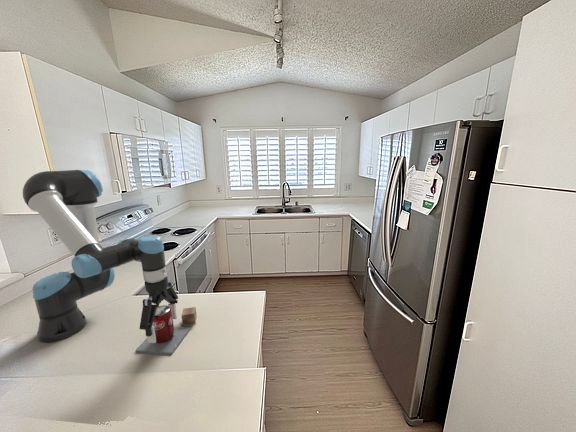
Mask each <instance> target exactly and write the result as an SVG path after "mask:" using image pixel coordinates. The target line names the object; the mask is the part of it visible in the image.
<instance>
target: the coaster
mask: <svg viewBox="0 0 576 432" xmlns="http://www.w3.org/2000/svg"><path fill="white" fill-rule="evenodd" d="M191 328H192V327H189V326H188V327H187V326H174V332H175V335H174V337H173V338H172V339H171V340H170V341H169V342H166V343H163V344H158V343H148V340H147V337H146V338H145V339H144V340H143V341H142V342H141V344H139V346H138V347H136V349H135V350H134V351H135V353H143V354H144V353H145V354H155V355H156V354H159V355H168V356H169V355H173V354H174V352H175V351H176V350H177V348H178V347H179V346H180V344H181V343H182V342H183V340H184V339H185V338H186V336H187V335H188V334H189V332H190V331H191Z"/></svg>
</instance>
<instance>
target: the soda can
mask: <svg viewBox="0 0 576 432" xmlns="http://www.w3.org/2000/svg"><path fill="white" fill-rule="evenodd" d="M152 325H154V329H155V336H156V343H158V344H163V343H166V342H169V341H170V340H171V339H172V338H173V337H174V335H175V332H174V319H173V317H172V310H171V307H169V306H168V304H166V305H165V304H162V305H159V307H157V310H156V313H155V317H154V320H153V324H152Z"/></svg>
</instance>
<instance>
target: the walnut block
mask: <svg viewBox="0 0 576 432" xmlns="http://www.w3.org/2000/svg"><path fill="white" fill-rule="evenodd" d="M196 308H197V307H196V306H194V307H193V306H192V307H186V308H183V309H182V312H181V322H182V327H186V326H189V325H190V326H191V325H196V322H197V309H196Z"/></svg>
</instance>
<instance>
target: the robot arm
mask: <svg viewBox="0 0 576 432" xmlns="http://www.w3.org/2000/svg"><path fill="white" fill-rule="evenodd" d="M102 195H103V185H102V182H101V180H100V178H99V177H98V176H97V175H96V174H95V172H93V171H92V170H89V169H69V170H67V169H66V170H46V171H40V172H37V173H35V174H33V175H31V176H30V177H29V178H28V179H27V180H26V182H25V183H24V185H23V188H22V198H23V201H24V203H25V204H26V205H27V207H28V208H29V209H30V210H31V211H32V212H35V213H38V215H40V217H41V218H42V219H43V220H44V222H45V223H46V224H47V225H48V226H49V228H50V229H51V230H52V231H53V233H54V234H55V235H56V236H57V238H58V239H60V241H61V242H62V244H64V246H65V247H66V248H67V249H68V251H69V252H70V253H71V254H72V256H74V257H73V258H72V259H71V268H72V270H73V272H71V273H70V272H69V271H60V272H55V273H52V274H49V275H46V276H45V277H42V278H41V279H39V280H37V281H36V282H35V283H34V284H33V285H32V290H31V291H32V298H33V299H34V303H35V306H36V310H37V313H38V318H39V322H38V323H39V324H38V330H37V334H36V336H37V340H38V341H39V342H41V343H52V342H53V343H54V342H57V341H60V340H63V339H64V340H65V339H67V338H69V337H71V336H74V335H76V334H78V333H79V331H81V330H82V329H84V328H85V327H86V325H87V318H86V316H85V314H84V313H83V312H82V311H81V310H80V308H79V307H78V303H77V302H78V301H79V300H81V299H83V298H86V297H88V296H91V295H93V294H95V293H97V292H101V291H103V290H104V289H106V288H109V287H111V286H112V284H113V283H114V282H115V277H116V275H115V274H116V273H115V269H114V268H117V267H121V266H122V265H123V266H124V265H126V264H128V263H130V262H139V263H141V268H142V269H141V270H142V277H143V281H144V282H143V283H144V287H145V291H146V292H147V294H148V298H145V299H144V298H143V299H142V311H141V314H140V315H141V317H140V322H139V323H140V324H139V330H144V331H145V336H146V338H147V340H148V343H156V336H155V329H154V325H152V324H153V320H154V317H155V313H156V310H157V307H159V306H160V304H161V303H162V301H164V300H165V301H166V302H167V306H169V307H171V310H172V317H173V320H177V318H178V316H177V308H176V304H178V303H179V302H178V299H179V296H178V294H177V292H176V291H175V289H174V288H173V285H172V282H169V280H168V272H167V265H166V256H165V245H164V244H163V239H162V237H161V236H160V235H148V236H144V237H141V238H139V239H136V238H124V239H121V240H119V242H117V243H116V244H113V245H110V246H106V247H103V246H102V245H101V244H100V238H99V232H98V224H97V219H96V218H97V217H96V212H95V205H96V204H98V198H99V197H101V196H102Z"/></svg>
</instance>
